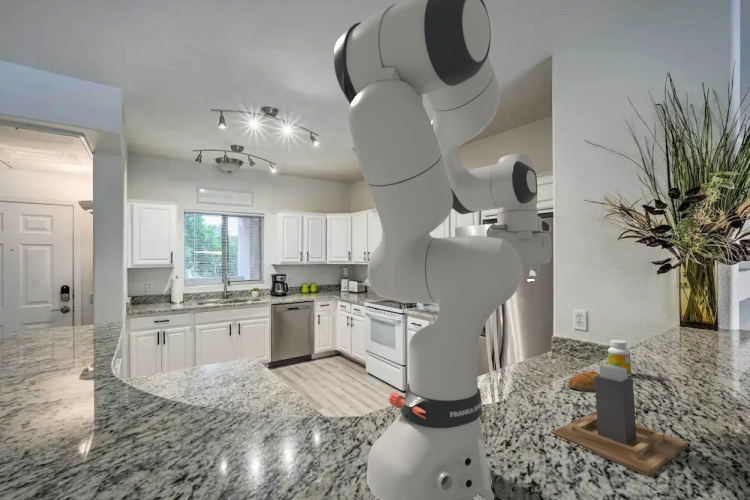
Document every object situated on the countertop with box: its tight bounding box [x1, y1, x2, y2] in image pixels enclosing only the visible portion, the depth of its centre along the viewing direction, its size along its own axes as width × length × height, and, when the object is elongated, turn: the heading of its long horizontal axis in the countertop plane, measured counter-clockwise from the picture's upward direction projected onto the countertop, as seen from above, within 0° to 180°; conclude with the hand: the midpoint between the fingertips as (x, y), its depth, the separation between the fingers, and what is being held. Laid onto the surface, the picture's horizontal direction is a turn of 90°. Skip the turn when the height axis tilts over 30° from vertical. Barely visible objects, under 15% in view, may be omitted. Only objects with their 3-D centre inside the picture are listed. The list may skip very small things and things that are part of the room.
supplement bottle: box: [607, 339, 632, 378], centre depth 104 cm, size 5×5×10 cm
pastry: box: [567, 370, 600, 392], centre depth 95 cm, size 9×7×4 cm
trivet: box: [551, 411, 689, 477], centre depth 66 cm, size 16×16×2 cm
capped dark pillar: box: [594, 363, 637, 445], centre depth 67 cm, size 4×5×13 cm
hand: (520, 284), depth 82 cm, fingers open, 8 cm apart
